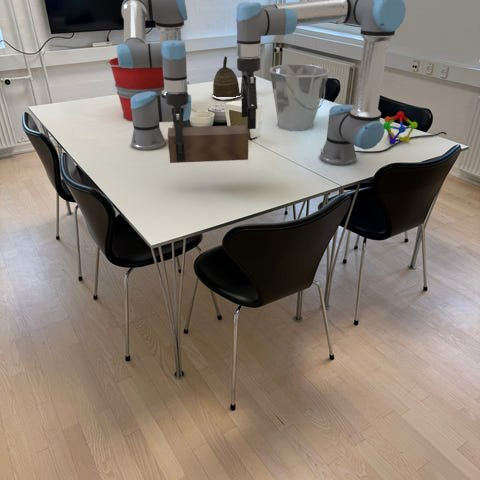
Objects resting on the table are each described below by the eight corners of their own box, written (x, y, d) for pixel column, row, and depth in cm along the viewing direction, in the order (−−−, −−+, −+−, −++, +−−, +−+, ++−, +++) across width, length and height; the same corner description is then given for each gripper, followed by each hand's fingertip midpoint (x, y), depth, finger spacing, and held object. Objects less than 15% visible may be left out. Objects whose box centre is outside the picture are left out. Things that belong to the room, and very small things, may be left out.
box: (170, 163, 155) (167, 136, 150) (170, 153, 163) (168, 127, 158) (248, 159, 158) (248, 133, 153) (245, 150, 166) (245, 125, 160)
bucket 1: (123, 106, 262) (116, 51, 247) (182, 106, 262) (178, 52, 246) (106, 123, 233) (97, 63, 217) (172, 124, 232) (168, 64, 216)
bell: (227, 105, 294) (202, 96, 282) (238, 66, 289) (213, 55, 277) (243, 108, 280) (217, 98, 268) (255, 66, 275) (229, 55, 263)
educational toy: (377, 146, 209) (379, 114, 202) (384, 138, 219) (386, 107, 211) (411, 149, 202) (415, 116, 195) (417, 141, 212) (420, 109, 204)
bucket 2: (296, 138, 215) (301, 78, 201) (255, 124, 234) (256, 68, 219) (335, 125, 232) (342, 70, 217) (294, 113, 251) (297, 61, 236)
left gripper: (188, 100, 138) (192, 167, 150) (187, 83, 156) (190, 144, 168) (164, 100, 137) (169, 168, 150) (165, 84, 156) (170, 145, 168)
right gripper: (267, 64, 132) (265, 133, 143) (253, 50, 152) (253, 111, 164) (242, 65, 131) (242, 134, 142) (232, 50, 152) (233, 112, 163)
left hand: (180, 155), depth 159 cm, fingers closed on box, 9 cm apart
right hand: (248, 122), depth 153 cm, fingers open, 13 cm apart
